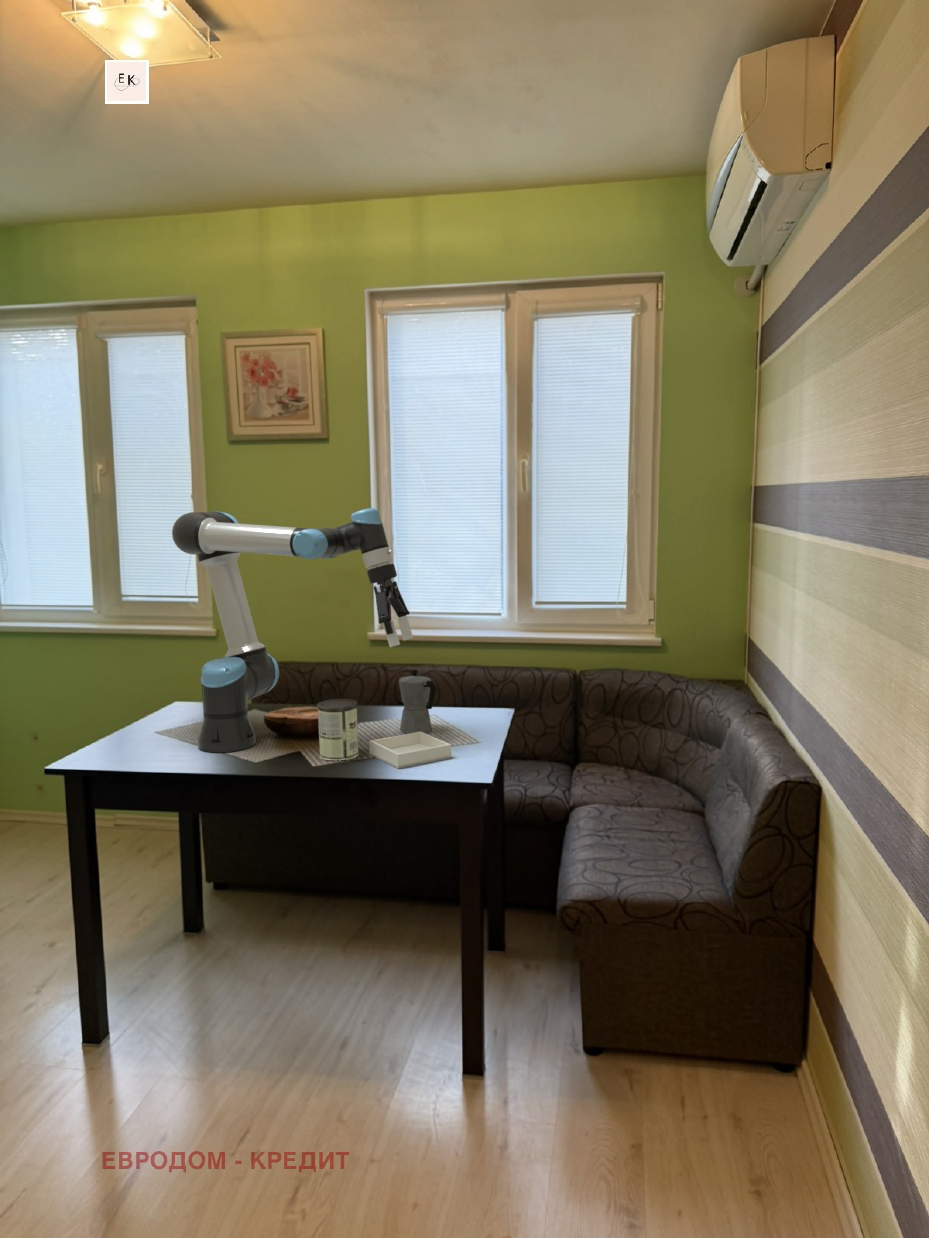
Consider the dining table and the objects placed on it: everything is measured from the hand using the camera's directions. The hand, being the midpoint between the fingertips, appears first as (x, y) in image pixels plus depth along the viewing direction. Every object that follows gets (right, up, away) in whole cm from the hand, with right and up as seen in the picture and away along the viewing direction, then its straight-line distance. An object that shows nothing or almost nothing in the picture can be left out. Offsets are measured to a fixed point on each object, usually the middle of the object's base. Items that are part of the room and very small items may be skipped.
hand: (401, 642), depth 228 cm
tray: (+3, -29, -7) cm, 30 cm away
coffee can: (-16, -30, -6) cm, 34 cm away
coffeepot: (+4, -26, +17) cm, 32 cm away
